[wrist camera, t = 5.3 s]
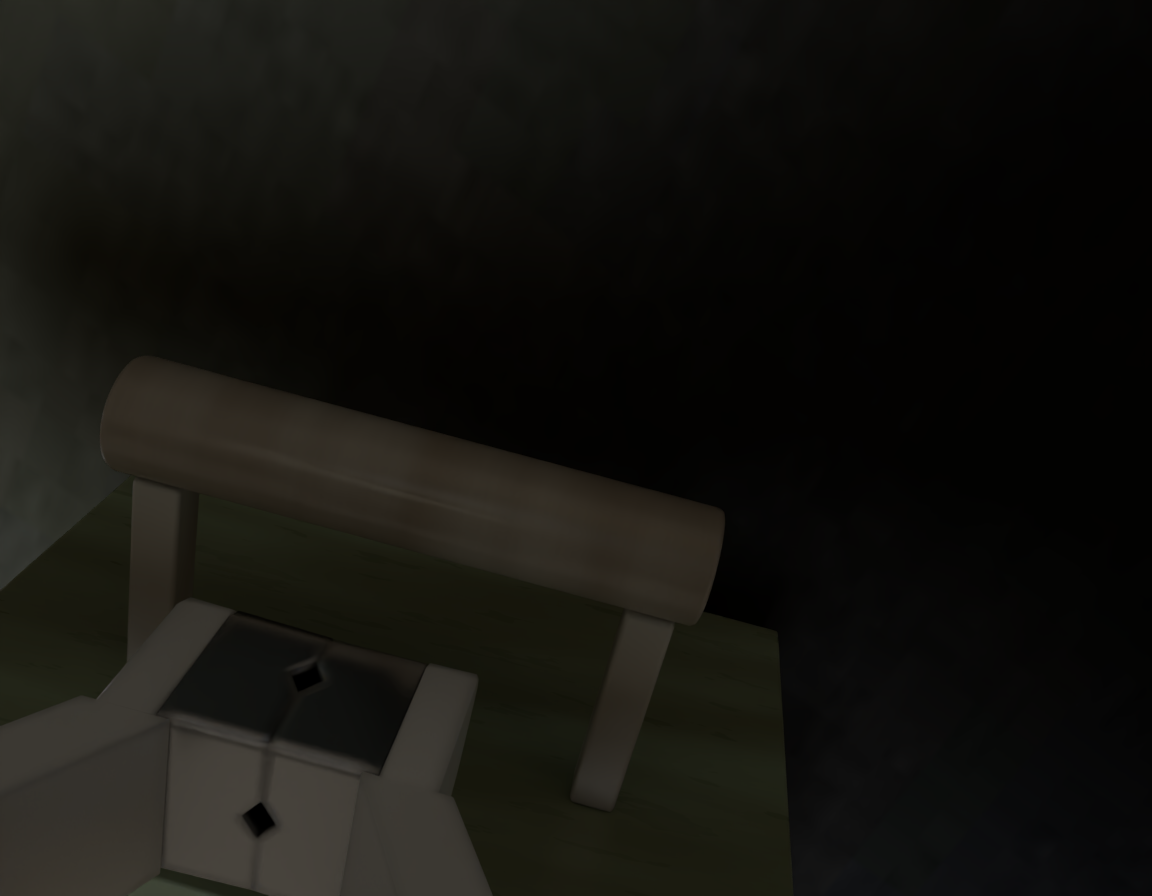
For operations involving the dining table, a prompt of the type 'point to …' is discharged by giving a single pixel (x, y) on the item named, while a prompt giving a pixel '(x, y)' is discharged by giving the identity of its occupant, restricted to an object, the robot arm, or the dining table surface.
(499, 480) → the drawer
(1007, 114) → the dining table surface
